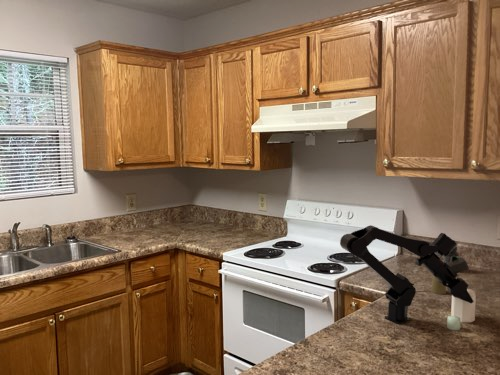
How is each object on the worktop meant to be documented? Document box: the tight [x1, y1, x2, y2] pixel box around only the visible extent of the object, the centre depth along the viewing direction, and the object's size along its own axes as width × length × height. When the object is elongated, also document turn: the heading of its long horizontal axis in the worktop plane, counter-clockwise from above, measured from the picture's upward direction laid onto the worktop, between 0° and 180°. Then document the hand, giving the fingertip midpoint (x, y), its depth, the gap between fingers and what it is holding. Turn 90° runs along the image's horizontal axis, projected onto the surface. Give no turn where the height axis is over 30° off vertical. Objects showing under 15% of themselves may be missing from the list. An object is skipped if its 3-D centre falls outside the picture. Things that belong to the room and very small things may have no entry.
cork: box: [430, 275, 447, 295], centre depth 185 cm, size 6×6×11 cm
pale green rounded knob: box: [446, 315, 462, 331], centre depth 150 cm, size 4×4×4 cm
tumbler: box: [450, 288, 477, 323], centre depth 157 cm, size 7×7×10 cm
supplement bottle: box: [443, 245, 460, 264], centre depth 216 cm, size 7×7×12 cm
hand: (467, 297), depth 157 cm, fingers open, 9 cm apart
